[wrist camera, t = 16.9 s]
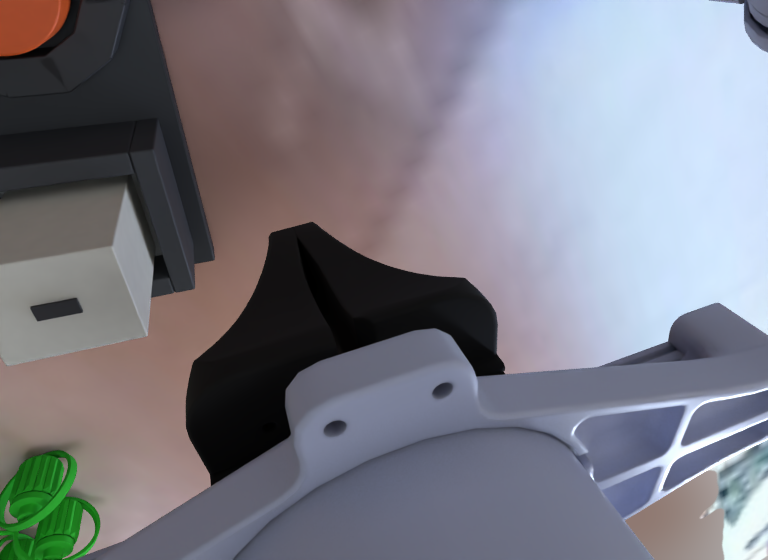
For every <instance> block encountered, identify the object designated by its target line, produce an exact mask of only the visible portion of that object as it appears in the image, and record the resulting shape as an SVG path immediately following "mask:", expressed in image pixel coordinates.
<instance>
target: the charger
mask: <svg viewBox="0 0 768 560" xmlns="http://www.w3.org/2000/svg"><path fill="white" fill-rule="evenodd" d="M154 257H155V243H154V240H153V237H152V234H151V231H150V228H149V226H148V223H147V220H146V217H145V214H144V211H143V208H142V205H141V202H140V199H139V196H138V193H137V190H136V187H135V184H134V181H133V178H132V175H131V174H130V175H123V176H115V177H108V178H100V179H93V180H86V181H78V182H71V183H64V184H56V185H49V186H41V187H34V188H27V189H19V190H12V191H6V192H5V194H4V195H3V196H2V198H1V199H0V357H1V358H2V360H3V361H4V363H5V364H6V366H11V365H16V364H20V363H25V362H30V361H34V360H39V359H44V358H48V357H53V356H57V355H62V354H67V353H71V352H76V351H81V350H85V349H90V348H95V347H99V346H104V345H109V344H113V343H118V342H123V341H127V340H132V339H137V338H141V337H146V336H147V335H148V325H149V313H150V302H151V291H152V280H153V268H154Z"/></svg>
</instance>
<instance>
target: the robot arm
mask: <svg viewBox="0 0 768 560" xmlns="http://www.w3.org/2000/svg"><path fill="white" fill-rule="evenodd" d="M709 1H719V2H728V3H737V4H743V3H744V25H745V30H746V33H747V34H748V36H749V37H750V39H751V41H752V42H753V43H754V44H755V45H757V46H758V47H759V48H760V49H761V50H764V51H766V52H768V0H709ZM497 327H498V324H497V316H496V312H495V311H494V309H493V307H492V305H491V304H490V303H489V301H488V300H487V299H486V298H485V297H484V296H483V295H482V294H481V293H480V291H479V290H478V289H477V288H475V287H474V286H473V285H472V284H471V283H470V282H469V281H468V280H467V279H466V278H457V277H439V276H431V275H424V274H418V273H413V272H408V271H405V270H401V269H397V268H393V267H390V266H387V265H384V264H382V263H379V262H377V261H374V260H372V259H369V258H367V257H365V256H363V255H361V254H359V253H357V252H355V251H354V250H352V249H350V248H349V247H347V246H346V245H344V244H342V243H341V242H339V241H338V240H336V239H335V238H334V237H332V236H331V235H329V234H328V233H327V232H325V231H324V230H323V229H322V228H320V227H319V226H318V225H317V224H315V223H313V222H310V223H306V224H302V225H298V226H295V227H291V228H287V229H283V230H280V231H276V232H272V233H271V234H270V236H269V246H268V252H267V257H266V260H265V264H264V268H263V271H262V274H261V276H260V279H259V281H258V284H257V286H256V289H255V291H254V293H253V295H252V297H251V299H250V300H249V302H248V304H247V306H246V307H245V309H244V310H243V312H242V313H241V315H240V316H239V318H238V319H237V321H236V322H235V323H234V324H233V325H232V327H231V328H230V329H229V330H228V331H227V332H226V333H225V334H224V335H223V336H222V337H221V338H220V339H219V340H218V341H217V342H216V343H215V344H214V345H213V346H212V347H210V348H209V349H208V350H207V351H206V352H205V353H203V354H202V355H201V356H200V357H199V358H197V359H196V360H195V361H194V362H193V365H192V369H191V373H190V378H189V383H188V388H187V396H186V429H187V432H188V435H189V438H190V440H191V442H192V444H193V446H194V447H195V449H196V451H197V452H198V454H199V456H200V458H201V459H202V461H203V463H204V465H205V466H206V468H207V470H208V472H209V473H210V479H211V487H209V488H207V489H206V490H204V491H203V492H201V493H199V494H198V495H196V496H195V497H193V498H192V499H190V500H188V501H187V502H185V503H184V504H182V505H180V506H179V507H177V508H176V509H174V510H172V511H171V512H169V513H168V514H166V515H164V516H163V517H161V518H160V519H158V520H157V521H155V522H153V523H152V524H150V525H149V526H147V527H145V528H144V529H142V530H141V531H139V532H137V533H136V534H134V535H133V536H131V537H129V538H128V539H126V540H125V541H123V542H120V543H117V544H115V545H112V546H109V547H107V548H104V549H101V550H98V551H96V552H93V553H90V554H87V555H85V556H82V557H79V558H77V559H74V560H654V558H653V557H652V556H651V555H650V553H649V552H648V551H647V549H646V548H645V547H644V545H643V544H642V543H641V541H640V540H639V539H638V538H637V536H636V535H635V534H634V532H633V531H632V530H631V528H630V527H629V526H628V524H627V523H626V522H625V520H626V519H628V518H630V517H631V516H633V515H634V514H636V513H638V512H639V511H641V510H643V509H644V508H646V507H647V506H649V505H651V504H652V503H654V502H656V501H657V500H659V499H660V498H662V497H664V496H665V495H667V494H669V493H670V492H672V491H673V490H675V489H677V488H678V487H680V486H682V485H683V484H685V483H686V482H688V481H690V480H692V479H693V478H695V477H697V476H698V475H700V474H702V473H703V472H705V471H707V470H709V469H710V468H712V467H714V466H716V465H718V464H719V463H721V462H723V461H725V460H727V459H729V458H731V457H733V456H735V455H736V454H738V453H740V452H742V451H745V450H747V449H749V448H751V447H753V446H755V445H757V444H759V443H762V442H764V441H766V440H768V335H766V334H765V333H764V332H762V331H761V330H759V329H758V328H756V327H755V326H753V325H752V324H750V323H749V322H747V321H746V320H744V319H743V318H741V317H740V316H738V315H737V314H735V313H734V312H732V311H731V310H729V309H728V308H726V307H725V306H723V305H722V304H720V303H714V304H711V305H708V306H705V307H703V308H700V309H697V310H694V311H691V312H689V313H686V314H684V315H682V316H680V317H679V318H678V319H677V320H676V321H675V322H674V323H673V325H672V327H671V329H670V333H669V339H668V342H665V343H662V344H660V345H657V346H654V347H651V348H649V349H646V350H643V351H641V352H638V353H635V354H632V355H630V356H627V357H624V358H621V359H619V360H616V361H613V362H611V363H608V364H605V365H602V366H600V367H595V368H582V369H569V370H556V371H543V372H530V373H517V374H505V373H504V372H503V371H505V366H504V363H503V362H502V360H501V359H500V358H499V357H498V355H497Z"/></svg>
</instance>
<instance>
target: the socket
mask: <svg viewBox="0 0 768 560" xmlns="http://www.w3.org/2000/svg"><path fill="white" fill-rule="evenodd" d="M130 174H131V175H132V178H133V181H134V184H135V187H136V190H137V193H138V196H139V199H140V202H141V205H142V208H143V211H144V214H145V217H146V220H147V223H148V226H149V228H150V231H151V234H152V237H153V240H154V243H155V257H154V268H153V280H152V291H151V297H156V296H161V295H166V294H172V293H174V291H175V292H182V291H187V290H192V289H195V273H194V246H193V240H192V237H191V233H190V230H189V226H188V222H187V219H186V215H185V212H184V208H183V205H182V201H181V198H180V194H179V191H178V187H177V184H176V180H175V177H174V173H173V169H172V166H171V162H170V159H169V155H168V152H167V148H166V145H165V141H164V138H163V134H162V131H161V127H160V124H159V120H158V119H157V118H153V119H144V120H138V121H137V122H136V121H126V122H116V123H107V124H98V125H89V126H80V127H71V128H62V129H53V130H44V131H35V132H26V133H16V134H7V135H0V199H1V198H2V196H3V195H4V194H5V192H6V191H12V190H19V189H27V188H34V187H41V186H49V185H56V184H64V183H71V182H78V181H86V180H93V179H100V178H108V177H115V176H123V175H130Z"/></svg>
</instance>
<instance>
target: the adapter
mask: <svg viewBox="0 0 768 560" xmlns="http://www.w3.org/2000/svg"><path fill="white" fill-rule="evenodd" d="M153 118H157V119H158V120H159V124H160V127H161V131H162V134H163V138H164V141H165V145H166V148H167V152H168V155H169V159H170V162H171V166H172V169H173V173H174V177H175V180H176V184H177V187H178V191H179V194H180V198H181V201H182V205H183V208H184V212H185V215H186V219H187V222H188V226H189V230H190V233H191V237H192V240H193V246H194V264H196V263H202V262H207V261H213V260H215V256H214V247H213V243H212V239H211V236H210V232H209V228H208V224H207V220H206V216H205V212H204V208H203V204H202V201H201V197H200V193H199V189H198V185H197V181H196V177H195V173H194V169H193V165H192V162H191V158H190V154H189V150H188V146H187V142H186V138H185V134H184V130H183V127H182V123H181V119H180V115H179V111H178V107H177V103H176V99H175V95H174V92H173V88H172V84H171V80H170V76H169V72H168V68H167V64H166V60H165V57H164V53H163V49H162V45H161V41H160V37H159V33H158V29H157V25H156V22H155V18H154V14H153V10H152V6H151V2H150V0H71V3H70V10H69V13H68V16H67V19H66V21H65V23H64V25H63V26H62V27H61V29H60V30H59V31H58V32H57V33H56V34H55V35H54V36H53V37H51V38H50V39H49V40H47V41H46V42H44V43H43V44H42V45H40V46H39V47H37V48H36V49H33V50H31V51H29V52H27V53H23V54H20V55H14V56H0V135H7V134H16V133H26V132H35V131H44V130H53V129H62V128H71V127H80V126H89V125H98V124H107V123H116V122H126V121H136V122H137V121H138V120H144V119H153Z"/></svg>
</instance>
